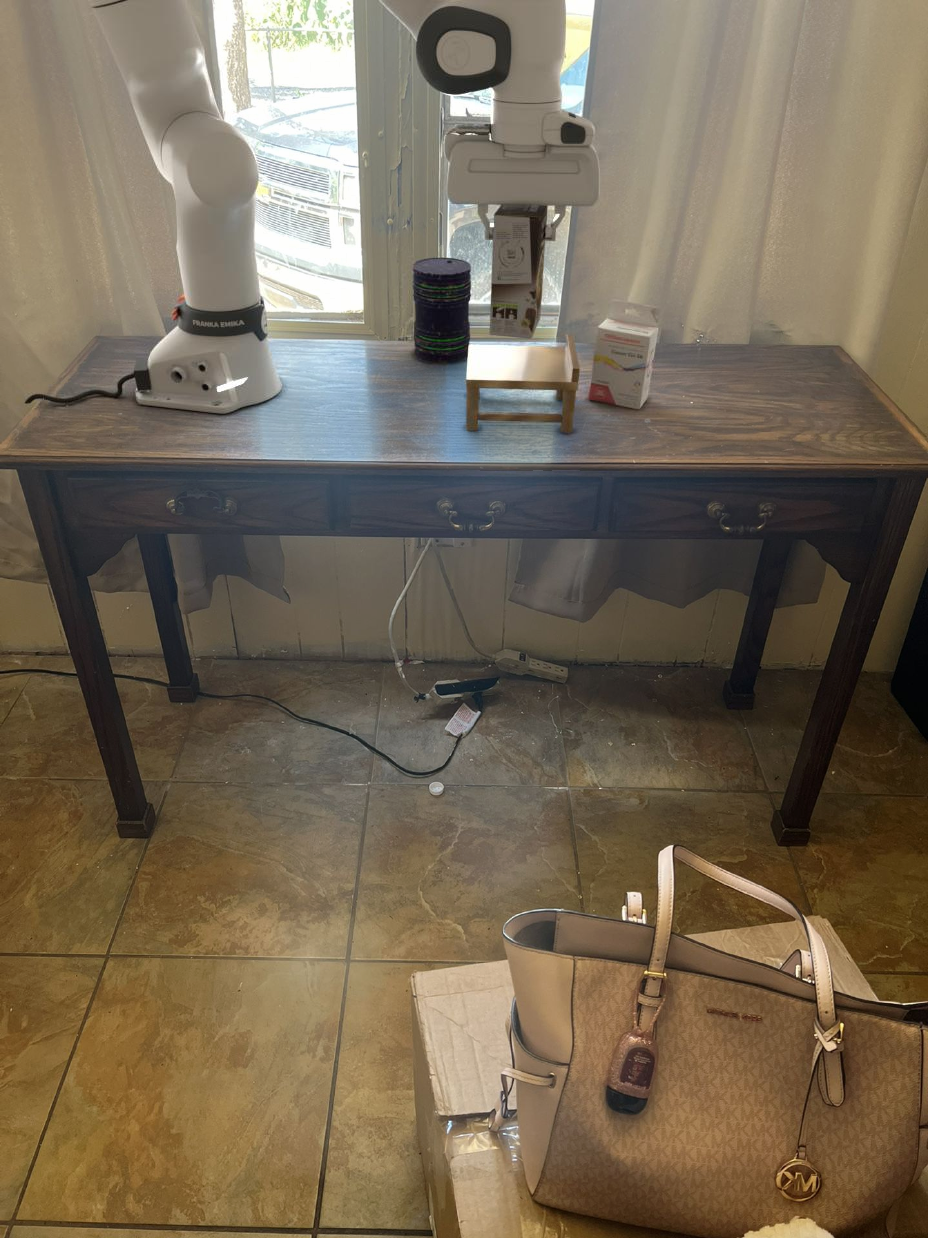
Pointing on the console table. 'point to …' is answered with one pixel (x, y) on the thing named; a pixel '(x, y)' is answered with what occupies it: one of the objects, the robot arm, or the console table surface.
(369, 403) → the console table surface
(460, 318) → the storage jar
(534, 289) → the coffee box
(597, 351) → the ink cartridge box
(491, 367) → the miniature wooden bench
